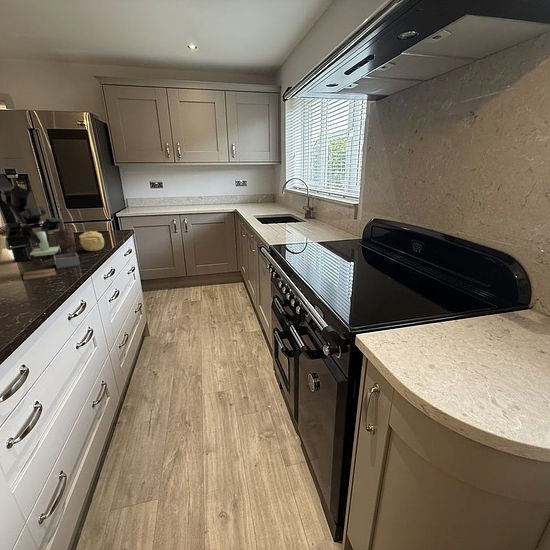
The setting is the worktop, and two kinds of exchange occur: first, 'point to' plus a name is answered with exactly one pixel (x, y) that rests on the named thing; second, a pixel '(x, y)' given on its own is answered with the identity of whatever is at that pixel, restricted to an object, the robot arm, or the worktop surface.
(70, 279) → the worktop surface
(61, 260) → the storage box
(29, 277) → the walnut board
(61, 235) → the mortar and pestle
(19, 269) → the worktop surface
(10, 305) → the worktop surface
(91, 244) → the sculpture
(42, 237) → the lid
